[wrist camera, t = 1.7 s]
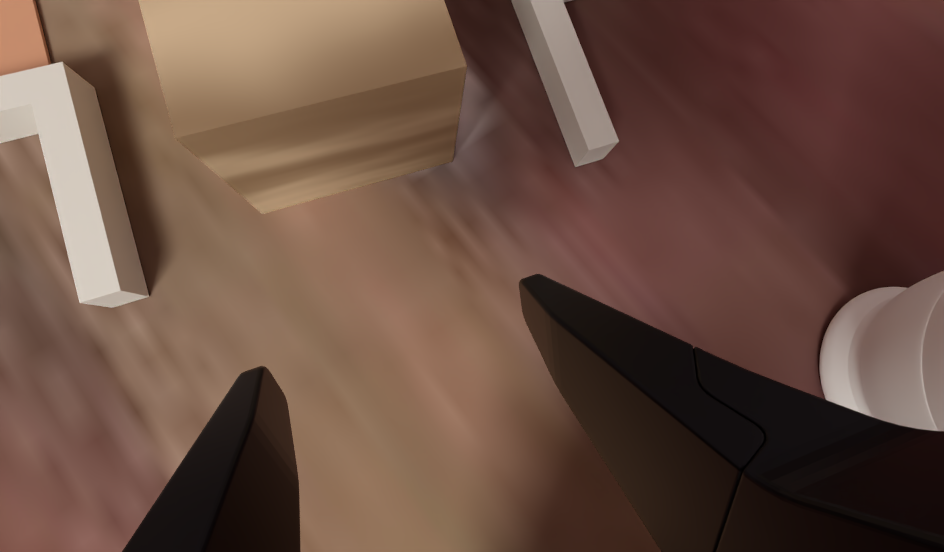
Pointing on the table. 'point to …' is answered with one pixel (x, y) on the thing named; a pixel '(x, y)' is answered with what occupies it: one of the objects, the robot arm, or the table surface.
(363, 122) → the oak block
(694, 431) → the robot arm
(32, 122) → the white flat frame
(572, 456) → the table surface
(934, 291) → the jar
